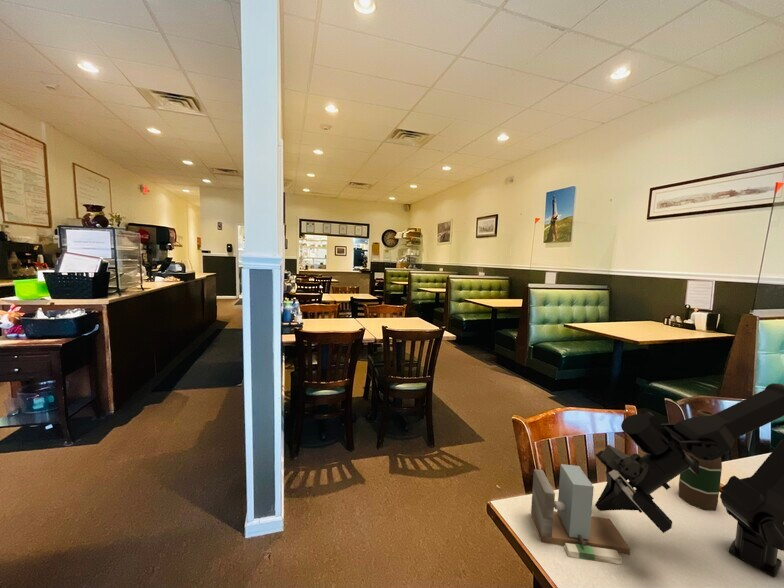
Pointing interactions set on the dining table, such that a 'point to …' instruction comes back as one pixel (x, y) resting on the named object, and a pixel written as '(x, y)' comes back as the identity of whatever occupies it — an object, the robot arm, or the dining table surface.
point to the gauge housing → (551, 530)
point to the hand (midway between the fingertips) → (597, 508)
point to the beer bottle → (702, 481)
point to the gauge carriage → (575, 502)
